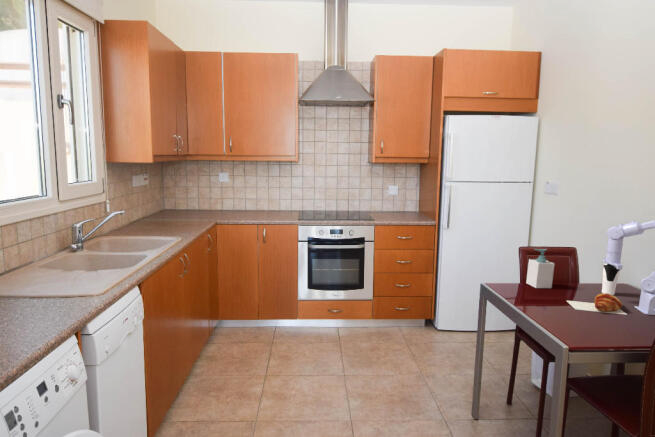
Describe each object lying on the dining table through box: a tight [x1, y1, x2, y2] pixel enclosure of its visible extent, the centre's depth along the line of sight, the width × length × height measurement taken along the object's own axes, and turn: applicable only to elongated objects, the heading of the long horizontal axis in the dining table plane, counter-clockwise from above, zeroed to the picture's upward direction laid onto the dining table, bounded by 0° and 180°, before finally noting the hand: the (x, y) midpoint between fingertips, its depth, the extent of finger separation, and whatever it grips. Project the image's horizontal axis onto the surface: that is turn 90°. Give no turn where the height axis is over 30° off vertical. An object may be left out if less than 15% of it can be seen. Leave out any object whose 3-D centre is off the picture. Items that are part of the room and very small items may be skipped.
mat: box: [565, 300, 628, 316], centre depth 191 cm, size 12×20×1 cm, turn 79°
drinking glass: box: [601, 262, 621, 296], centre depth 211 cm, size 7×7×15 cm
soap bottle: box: [525, 248, 555, 289], centre depth 220 cm, size 9×9×19 cm
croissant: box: [593, 293, 623, 312], centre depth 190 cm, size 21×10×8 cm, turn 130°
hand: (610, 281), depth 200 cm, fingers closed
